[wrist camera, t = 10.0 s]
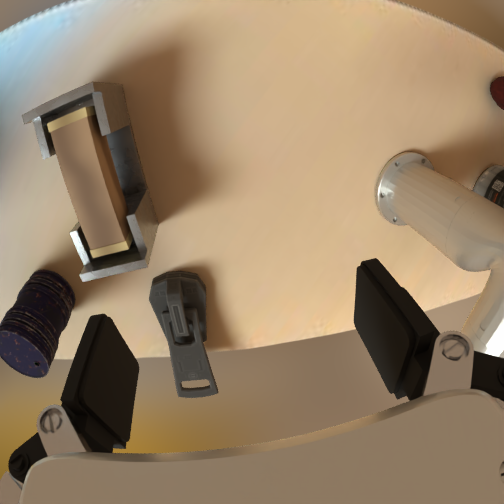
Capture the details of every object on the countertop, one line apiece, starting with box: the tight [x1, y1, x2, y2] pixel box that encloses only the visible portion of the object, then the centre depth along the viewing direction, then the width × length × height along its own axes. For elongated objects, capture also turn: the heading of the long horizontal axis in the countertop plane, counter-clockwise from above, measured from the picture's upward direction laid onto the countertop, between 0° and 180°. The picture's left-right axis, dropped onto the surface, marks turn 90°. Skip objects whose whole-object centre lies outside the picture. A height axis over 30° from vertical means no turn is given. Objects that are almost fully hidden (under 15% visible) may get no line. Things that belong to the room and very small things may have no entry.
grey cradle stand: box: [22, 82, 159, 282], centre depth 30 cm, size 8×20×11 cm, turn 9°
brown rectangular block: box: [47, 106, 133, 258], centre depth 29 cm, size 5×16×5 cm, turn 9°
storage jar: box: [0, 270, 75, 378], centre depth 36 cm, size 10×10×15 cm
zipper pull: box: [149, 271, 218, 398], centre depth 48 cm, size 9×7×25 cm
